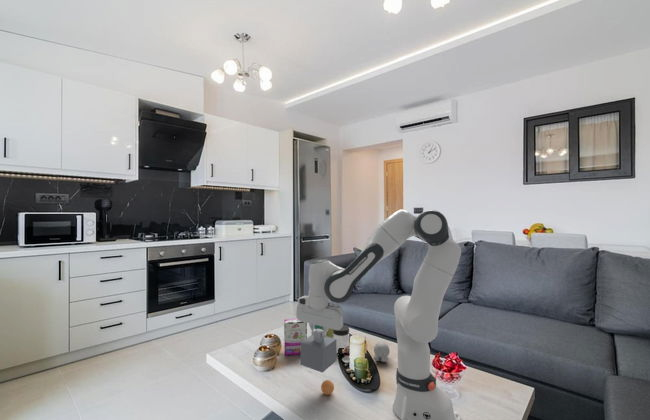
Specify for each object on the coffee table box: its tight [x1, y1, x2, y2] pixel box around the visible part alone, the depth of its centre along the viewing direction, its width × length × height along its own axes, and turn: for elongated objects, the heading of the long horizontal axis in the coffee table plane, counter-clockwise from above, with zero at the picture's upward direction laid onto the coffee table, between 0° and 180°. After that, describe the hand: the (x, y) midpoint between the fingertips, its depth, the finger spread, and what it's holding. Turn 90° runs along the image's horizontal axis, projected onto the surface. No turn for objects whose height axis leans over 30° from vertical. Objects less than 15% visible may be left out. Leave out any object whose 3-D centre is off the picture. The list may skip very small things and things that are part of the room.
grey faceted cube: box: [300, 329, 337, 374], centre depth 120 cm, size 10×10×13 cm
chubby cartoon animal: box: [373, 341, 391, 363], centre depth 146 cm, size 7×12×8 cm, turn 155°
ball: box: [320, 379, 335, 396], centre depth 118 cm, size 5×5×5 cm
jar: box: [333, 324, 350, 355], centre depth 154 cm, size 9×8×12 cm
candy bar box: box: [283, 318, 308, 357], centre depth 152 cm, size 11×5×16 cm, turn 97°
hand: (318, 335), depth 120 cm, fingers closed on grey faceted cube, 3 cm apart
